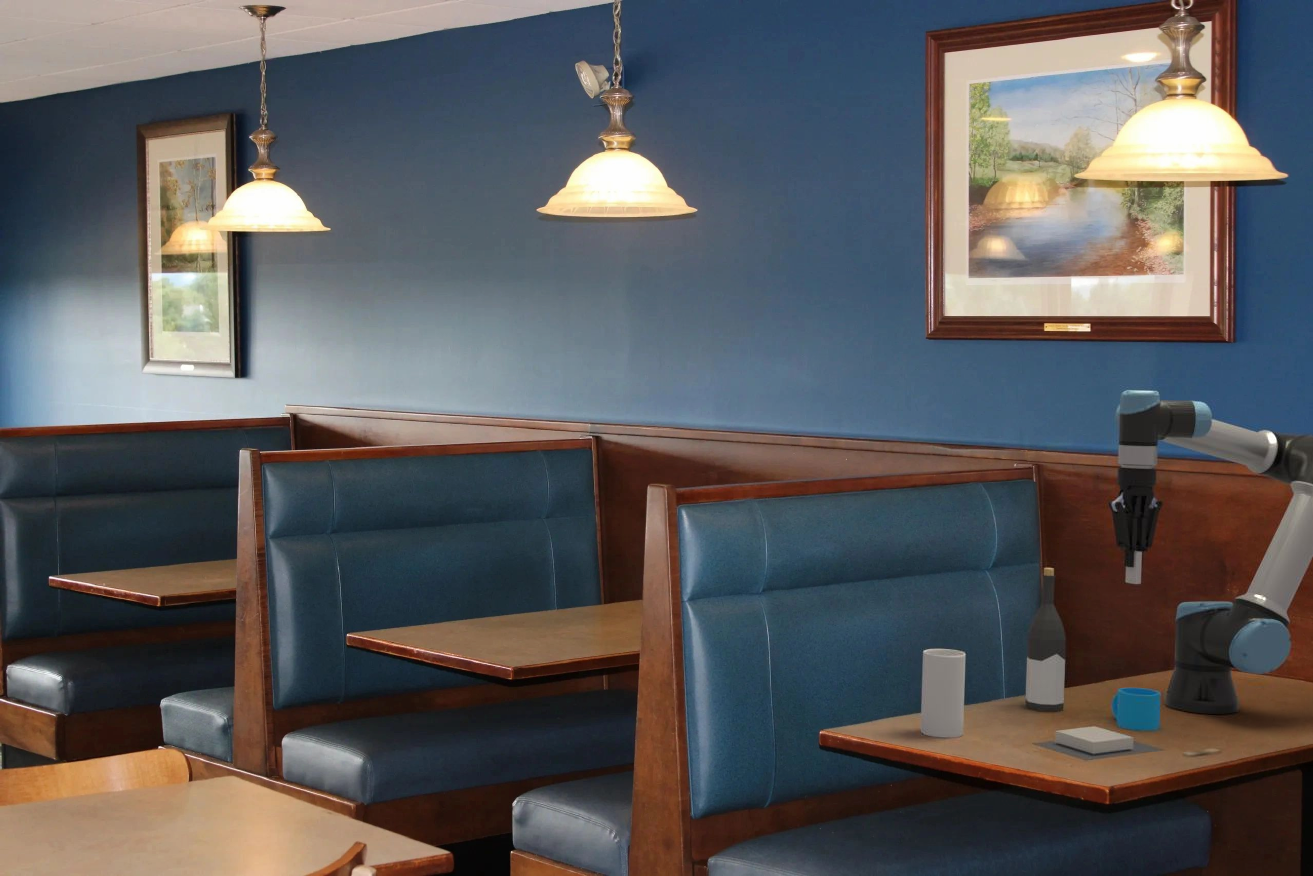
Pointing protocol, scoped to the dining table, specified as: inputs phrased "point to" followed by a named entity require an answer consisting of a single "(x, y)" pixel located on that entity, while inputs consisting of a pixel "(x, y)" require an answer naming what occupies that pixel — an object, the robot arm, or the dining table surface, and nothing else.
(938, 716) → the cup
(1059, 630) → the wine bottle
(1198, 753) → the turner
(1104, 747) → the tile
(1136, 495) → the robot arm
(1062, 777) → the dining table surface
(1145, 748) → the mat
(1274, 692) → the dining table surface
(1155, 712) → the mug
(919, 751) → the dining table surface
